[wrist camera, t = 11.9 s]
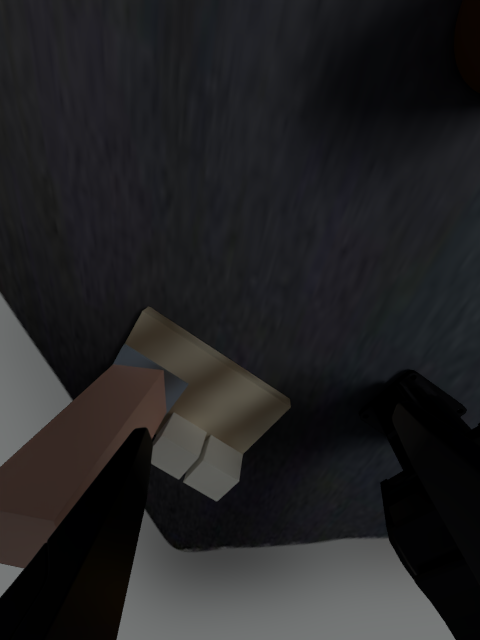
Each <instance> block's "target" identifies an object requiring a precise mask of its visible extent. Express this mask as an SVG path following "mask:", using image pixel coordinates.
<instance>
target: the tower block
mask: <svg viewBox="0 0 480 640" xmlns="http://www.w3.org/2000/svg"><path fill="white" fill-rule="evenodd" d="M166 413H167V410H166V396H165V382H164V370H157V369H149V368H141V367H132V366H124V365H115V364H113V365H112V366H111V367H110V368H109V369H108V370H106V371H105V372H104V373H103V374H102V375H101V376H100V377H99V378H98V379H96V380H95V381H94V382H93V383H92V384H91V385H90V386H89V387H88V388H87V389H85V390H84V391H83V392H82V393H81V394H80V395H79V396H78V397H77V398H76V399H74V400H73V401H72V402H71V403H70V404H69V405H68V406H67V407H66V408H65V409H63V410H62V411H61V412H60V413H59V414H58V415H57V416H56V417H55V418H54V419H52V420H51V422H49V423H48V424H47V425H46V426H45V427H44V428H43V429H41V430H40V432H38V433H37V434H36V435H35V436H34V437H33V438H32V439H31V440H29V442H27V443H26V444H25V445H24V446H23V447H22V448H21V449H20V450H18V451H17V452H16V453H15V454H14V455H13V456H12V457H11V458H10V459H8V460H7V462H5V463H4V464H3V465H2V466H1V467H0V563H1V564H6V565H11V566H15V567H20V568H25V567H26V566H27V565H28V563H29V562H30V561H31V560H32V559H33V557H34V556H35V555H36V553H37V552H38V551H39V550H40V548H41V547H42V546H43V544H44V543H47V540H48V538H49V537H50V536H51V534H52V533H53V532H54V531H55V529H56V528H57V527H58V525H59V524H60V523H61V522H62V520H63V519H64V518H65V517H66V515H67V514H68V513H69V511H70V510H71V509H72V508H73V506H74V505H75V504H76V502H77V501H78V500H79V499H80V497H81V496H82V495H83V494H84V492H85V491H86V490H87V488H88V487H89V486H90V485H91V483H92V482H93V481H94V479H95V478H96V477H97V476H98V474H99V473H100V472H101V470H102V469H103V468H104V467H105V465H106V464H107V463H108V462H109V460H110V459H111V458H112V456H113V455H114V454H115V453H116V451H117V450H118V449H119V447H120V446H121V445H122V444H123V442H124V441H125V440H126V439H127V437H128V436H129V435H130V433H131V432H132V431H133V430H134V429H135V428H141V427H146V428H148V430H149V433H150V436H151V439H152V438H153V436H154V434H155V432H156V431H157V429H158V427H159V425H160V423H161V422H162V420H163V418H164V416H165V415H166Z"/></svg>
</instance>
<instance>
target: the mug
mask: <svg viewBox="0 0 480 640" xmlns="http://www.w3.org/2000/svg"><path fill="white" fill-rule="evenodd" d="M454 55H455V60H456V64H457V67H458V70H459V72H460V74H461V76H462V78H463V79H464V81H465V82H466V83H467V85H469V86H470V87H471V88H472V89H473V90H474V91H476V92H478V93H480V0H463V1H462V3H461V6H460V9H459V13H458V16H457V20H456V26H455V33H454Z"/></svg>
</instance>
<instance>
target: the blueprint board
mask: <svg viewBox="0 0 480 640" xmlns="http://www.w3.org/2000/svg"><path fill="white" fill-rule="evenodd" d="M113 364H115V365H124V366H132V367H141V368H149V369H157V370H164V382H165V396H166V410H167V413H166V415H165V416H164V418H163V420H162V422H161V423H160V425H159V427H158V429H157V431H156V432H155V434H156V435H157V434H158V433H159V431H160V430H161V429H162V427H163V426H164V425H165V423H166V422H167V421H168V419H169V418H170V417H171V415H172V414H173V413H176V414H178V415H179V416H181V417H183V418H184V419H186V420H187V421H189V422H191V423H192V424H194V425H196V426H197V427H199V428H201V429H202V430H204V431H205V432H207V434H206V437H205V440H204V442H205V441H206V440H207V439H208V438H209V437H210V435H212V436H214V437H215V438H217V439H219V440H220V441H222V442H223V443H225V444H227V445H228V446H230V447H232V448H233V449H235V450H237V451H238V452H240V453H241V454H244V453H245V452H246V451H247V450H248V449H249V448H250V447H251V446H252V445H253V444H254V443H255V442H256V441H257V440H258V439H259V438H260V437H261V436H262V435H263V434H264V433H265V432H266V431H267V430H268V429H269V428H270V427H271V426H272V425H273V424H274V423H275V422H276V421H277V420H278V419H279V418H280V417H281V416H282V415H283V414H284V413H285V412H286V411H287V410H289V409H290V408H291V404H290V399H289V398H288V397H286V396H285V395H283V394H282V393H280V392H279V391H277V390H276V389H274V388H273V387H271V386H270V385H268V384H266V383H265V382H263V381H262V380H260V379H259V378H257V377H256V376H254V375H253V374H251V373H250V372H248V371H247V370H245V369H244V368H242V367H241V366H239V365H238V364H236V363H234V362H233V361H231V360H230V359H228V358H227V357H225V356H224V355H222V354H221V353H219V352H218V351H216V350H215V349H213V348H212V347H210V346H209V345H207V344H206V343H204V342H202V341H201V340H199V339H198V338H196V337H195V336H193V335H192V334H190V333H189V332H187V331H186V330H184V329H183V328H181V327H180V326H178V325H177V324H175V323H174V322H172V321H170V320H169V319H167V318H166V317H164V316H163V315H161V314H160V313H158V312H157V311H155V310H154V309H152V308H151V307H147V308H146V309H145V310H143V311H142V313H141V315H140V317H139V319H138V320H137V322H136V324H135V326H134V328H133V330H132V331H131V333H130V335H129V337H128V339H127V340H126V342H125V344H124V345H123V347H122V348H121V350H120V352H119V354H118V356H117V358H116V359H115V361H114V363H113Z"/></svg>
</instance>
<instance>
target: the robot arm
mask: <svg viewBox="0 0 480 640" xmlns="http://www.w3.org/2000/svg"><path fill="white" fill-rule="evenodd" d="M412 375H414V376H413V377H411V376H412ZM458 409H459V410H458ZM466 411H467V409H466V408H465V407H464V406H463V405H462V404H461V403H459V402H458V401H457V400H455V399H454V398H452V397H451V396H450V395H448V394H447V393H445V392H444V391H443V390H441V389H440V388H438V387H437V386H436V385H434V384H433V383H432V382H430V381H429V380H427V379H426V378H425V377H423V376H422V375H420V374H419V373H418V372H416V371H414V370H409V371H407V372H406V373H405V374H404V375H402V376H401V377H400V378H399V379H398V380H396V381H395V382H394V383H393V384H392V385H390V386H389V387H388V388H387V389H386V390H385V391H383V392H382V393H381V394H380V395H379V396H377V397H376V398H375V399H374V400H373V401H371V402H370V403H369V404H368V405H367V406H365V407H364V408H363V409H362V410H361V411H360V412H359V416H360V418H361V419H362V420H363V421H365V422H366V423H368V424H369V425H371V426H372V427H374V428H375V429H377V430H378V431H380V432H381V433H383V434H384V435H386V437H387V439H388V441H389V443H390V445H391V447H392V449H393V451H394V453H395V455H396V457H397V459H398V461H399V463H400V465H401V467H402V469H403V471H402V472H400V473H399V474H397V475H395V476H393V477H392V478H390V479H388V480H387V479H385V480H384V481H382V482H380V484H381V491H382V498H383V506H384V513H385V520H386V527H387V532H388V536H389V541H390V543H391V545H392V546H393V548H394V550H395V552H396V554H397V555H398V557H399V559H400V561H401V562H402V564H403V565H404V567H405V568H406V570H407V571H408V573H409V574H410V575H411V576H412V578H413V579H414V581H415V583H416V584H417V585H418V587H419V588H420V589H421V591H422V592H423V593H424V594H425V595H426V597H427V598H428V599H429V600H430V601H431V603H432V604H433V606H434V607H435V609H436V610H437V611H438V613H439V614H440V616H441V617H442V619H443V620H444V621H445V623H446V625H447V626H448V628H449V630H450V631H451V633H452V634H453V636H454V638H455V639H456V640H480V423H479V424H478V425H479V426H477V427H476V428H474V429H472V430H471V428H470V427H469V426H468V425H467V424H466V423H465V422H464V421H463V420H462V419H461V418H460V417H461V416H462V415H464V414H465V413H466ZM365 414H367V415H365ZM364 415H365V416H364ZM152 450H153V442H152V439H151V436H150V433H149V430H148V428H146V427H141V428H135V429H134V430H133V431H132V432H131V433H130V435H129V436H128V437H127V439H126V440H125V441H124V442H123V444H122V445H121V446H120V447H119V449H118V450H117V451H116V453H115V454H114V455H113V456H112V458H111V459H110V460H109V462H108V463H107V464H106V465H105V467H104V468H103V469H102V470H101V472H100V473H99V474H98V476H97V477H96V478H95V479H94V481H93V482H92V483H91V485H90V486H89V487H88V488H87V490H86V491H85V492H84V494H83V495H82V496H81V497H80V499H79V500H78V501H77V502H76V504H75V505H74V506H73V508H72V509H71V510H70V511H69V513H68V514H67V515H66V517H65V518H64V519H63V520H62V522H61V523H60V524H59V525H58V527H57V528H56V529H55V531H54V532H53V533H52V534H51V536H50V537H49V538H48V540H47V543H44V544H43V546H42V547H41V548H40V550H39V551H38V552H37V553H36V555H35V556H34V557H33V559H32V560H31V561H30V562H29V563H28V565H27V566H26V567H25V568H24V570H23V571H22V572H21V574H20V575H19V576H18V577H17V578H16V580H15V581H14V582H13V583H12V585H11V586H10V587H9V588H8V589H7V590H6V592H5V593H4V594H3V595H2V596H1V597H0V640H116V639H117V635H118V630H119V625H120V620H121V616H122V611H123V607H124V602H125V597H126V593H127V588H128V583H129V578H130V574H131V570H132V565H133V560H134V556H135V551H136V546H137V542H138V537H139V532H140V528H141V523H142V518H143V514H144V509H145V505H146V499H147V494H148V486H149V477H150V468H151V459H152Z"/></svg>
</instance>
